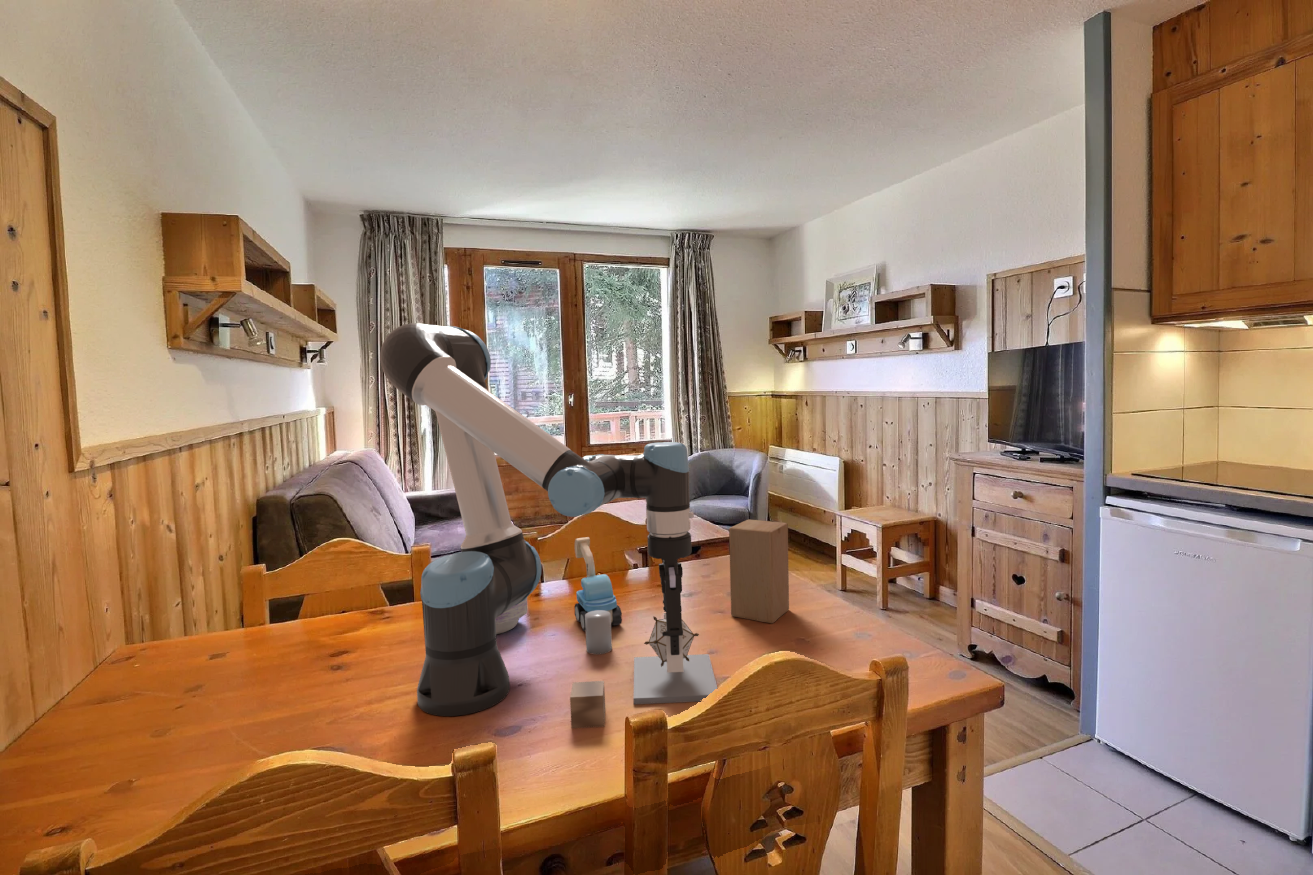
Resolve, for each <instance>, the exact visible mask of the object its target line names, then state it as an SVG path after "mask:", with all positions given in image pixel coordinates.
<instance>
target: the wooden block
mask: <svg viewBox="0 0 1313 875" xmlns="http://www.w3.org/2000/svg"><path fill="white" fill-rule="evenodd" d="M728 532H729V533H728V535H729V577H730V578H729V581H730V582H729V584H730V586H729V588H730V616H731V617H734V618H735V617H736V618H739V619H740V618H741V619H746V620H751V621H758V622H763V623H768V624H774V622H776V621H777V620H778V619H779V618H780V617H782V616H783V615H784V614H786V612H788V611H789V609H790V592H789V591H790V588H789V587H790V585H789V584H790V583H789V582H790V581H789V574H790V573H789V527H788V523H787V522H780V521H770V520H759V519H746V520H744V521H741V522H740V523H737V524H735V525H733V526H731V527H729V529H728Z"/></svg>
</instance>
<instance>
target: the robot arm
mask: <svg viewBox="0 0 1313 875" xmlns="http://www.w3.org/2000/svg"><path fill="white" fill-rule="evenodd" d="M379 358H380V359H379V360H380V361H379V362H380V365H381V369H382V371H383V374H384V376H385V377H386V379H387V380H388V381H389V382H390V384H391V385H392V386H393V387H394V388H396V389H397V390H398V391H399V392H400V393H401V394H403V395H404V396H405V397H406V398H408V399H409V400H411V401H412V402H413V403H415V404H416V405H418V406H427V407H428V408H430V409H431V410H433V411H434V412H435V416H436V420H437V423H438V427H439V431H440V435H441V439H442V444H443V447H444V451H445V456H446V459H447V463H448V468H449V472H450V476H451V479H452V483H453V488H454V492H455V495H456V496H455V497H456V500H457V503H458V508H459V512H460V516H461V520H462V524H463V528H464V532H465V538H464V539H463V541H462V543H461V544H460V551H459V552H455V553H452V554H451V555H449V554H447V555H443V556H442V557H439V558H437V559H435V560H433V561H432V562H430V563H428V565H426V567H425V568H424V569H423V571H422V574H421V580H420V581H421V582H420V583H421V588H420V593H419V594H420V598H421V606H422V607H421V608H422V617H423V618H422V620H423V621H422V622H423V633H424V635H423V636H424V647H425V649H424V650H425V656H424V657H425V658H424V662H423V666H422V669H421V673H420V676H419V680H418V684H417V687H416V697H417V698H416V699H417V705H418V707H419V709H420V710H421V711H423V712H425V713H426V714H430V715H433V716H440V717H441V716H442V717H455V716H456V717H458V716H465V715H470V714H473V713H474V714H475V713H478V712H480V711H483V710H486V709H488V708H491V707H493V706H495V705H496V704H498V703H500V702H501V701H502V700H504V699H505V698H506V697H507V695H508V694H509V692H510V689H511V688H510V675H509V672H508V670H507V669H508V668H507V666H506V665H505V662H504V660H503V657H502V655H501V652H500V650H499V648H498V644H497V643H498V642H497V640H498V639H497V634H496V621H495V619H496V617H498V616H500V615H501V614H502V613H504V612H505V611H507V610H508V609H510V608H511V607H513V606H514V605H517V604H519V603H520V602H522V601H524V600H525V599H526V598H527V599H528V597H529V596H530V595H531V594H532V593H533V592H534V591H535V589H536V588H537V587H538V585H539V582H540V579H541V576H542V562H541V558H540V556H539V553H538V551H537V550H536V548H535V546H532V545H531V544H530V543H529V541H526V540H525V538H524V533H523V531H522V529H521V528H519V527H518V526H516V525H514V524H513V522H512V520H511V515H510V511H509V507H508V502H507V499H506V494H505V490H504V486H503V483H502V479H501V474H500V470H499V466H498V463H497V459H496V455H497V456H498V457H499V458H501V459H503V460H504V461H505V462H506V463H508V464H509V465H511V466H512V467H513V468H515V469H517V471H519V472H520V473H522V474H523V475H524V476H526V477H527V478H529V480H532V481H533V482H535V484H537V485H538V486H539V487H541V488H542V489H544V490H545V491H547V496H548V500H549V502H550V504H551V505H552V507H553V509H554V510H555V511H556V512H557V513H560V514H561V515H563V516H566V517H571V518H574V517H575V518H576V517H580V516H583V515H588V514H591V513H592V512H594V511H596V510H597V509H598V508H600V507H601V506H603V505H606V504H608V503H610V502H612V501H614V500H616V499H629V498H630V499H632V498H633V499H645V504H646V506H645V507H646V508H645V512H646V516H645V517H646V530H647V532H648V533H649V534H648V535H647V553H648V556H650V557H651V558H653V559H657V560H660V559H661V563H658V573H659V578H660V585H661V592H662V596H663V600H662V604H663V612H664V613H663V619H665V618H666V625H667V630H666V632H662V635H663V636H666V651H667V673H669V672H684V670H683V642H682V635H683V630H682V620H683V619H682V615H681V614H682V611H683V610H682V609H683V608H682V600H681V598H682V597H681V593H682V592H683V580H682V578H683V574H684V573H683V567H682V562H678V560H680V559H684V558H686V557H689V556H690V555H692V551H693V550H692V549H693V548H692V534H691V533H690V532H689V531H690V530H691V528H692V527H691V519H692V518H694V517H695V513H694V512H692V511H691V509H690V507H691V505H690V504H691V502H690V499H691V498H690V471H691V470H690V469H691V468H690V467H689V466H690V465H689V457H688V456H689V455H688V449H687V446H686V445H685V444H684V443H681V442H676V441H673V442H672V441H663V442H651V443H647V444H646V445H645V446H644V447H643V448H644V449H643V453H642V454H632V455H631V454H630V455H628V454H626V455H625V454H619V455H618V454H605V453H599V454H594V455H592V454H591V455H585V456H583V457H582V456H580V455H578V453H576V452H575V451H573V450H571V448H569V447H568V446H566V445H565V444H564V443H562V442H561V441H560V440H558V439H557V438H555V437H553V435H551V434H550V433H549V432H547V431H546V430H544V429H543V428H541V427H540V426H538V425H537V424H535V423H534V422H532V421H531V420H530V419H529V418H527V417H525V416H524V415H522V414H521V413H520V412H518V411H517V410H516V409H515V408H513V407H512V406H510V405H509V404H507V403H506V402H505V401H503V400H502V399H500V398H499V397H498V396H496V395H495V394H494V393H492V392H490V390H488V387H487V384H486V380H487V378H488V375H489V372H490V371H491V366H492V363H491V362H492V361H491V355H490V352H489V349H488V347H487V345H486V343H485V342H484V341H483V340H482V339H481V337H479V335H477V334H476V333H474V332H472V331H471V330H467V329H464V328H461V327H458V326H454V325H448V326H446V325H445V326H443V325H436V324H426V323H421V322H411V323H410V322H409V323H406V324H403V325H400V326H398V327H396V328H394V329H393V330H391V332H390V333H389V334H388V335H387V336H386V337H385V339H384V341H383V342H382V345H381V347H380V354H379Z"/></svg>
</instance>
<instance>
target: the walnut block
mask: <svg viewBox="0 0 1313 875" xmlns="http://www.w3.org/2000/svg"><path fill="white" fill-rule="evenodd" d="M571 684H572V686H571V691H570V696H569V703H570V706H569V707H570V724H571V727H570V728H571V729H581V728H582V729H583V728H584V729H585V728H603V727H605V723H606V722H605V721H606V719H605V718H606V695H605V694H606V692H605V680H595V681H592V680H591V681H575V682H574V681H573V682H572V683H571Z"/></svg>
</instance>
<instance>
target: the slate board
mask: <svg viewBox="0 0 1313 875" xmlns="http://www.w3.org/2000/svg"><path fill="white" fill-rule="evenodd" d="M687 657H688V658H689V661H687V660H686V658H683V670H684V672H669V673H667V662H664V666H662V667H661V663H662V660H661V659H660V658H659V656H658V655H655V656H654V655H653V656H652V655H651V656H639V657H638V656H637V657H636V656H635V657H633V697H632V698H633V705H647V704H649V705H650V704H652V705H653V704H667V703H668V704H669V703H671V704H673V703H691V702H692V703H693V702H701V701H700V700H702V699H703V698H706V697H707V696H708V695H709V694H710V693H712V692H713V691H714V690H715V689H717V688H718V686H717V681H716V676H715V673H714V668H713V666H712V661H711V658H710V654H708V653H703V654H688V655H687Z"/></svg>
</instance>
